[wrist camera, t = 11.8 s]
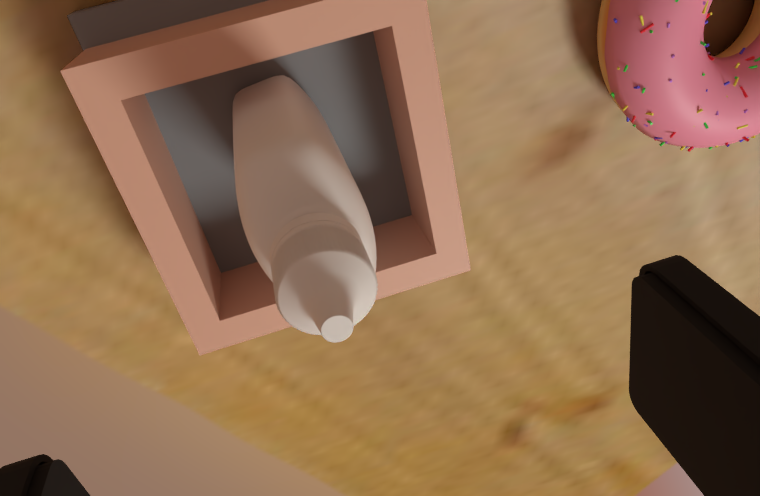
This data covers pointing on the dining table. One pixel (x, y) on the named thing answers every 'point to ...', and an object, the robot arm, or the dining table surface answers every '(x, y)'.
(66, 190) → the dining table surface
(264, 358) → the dining table surface
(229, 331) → the socket stand
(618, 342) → the dining table surface
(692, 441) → the robot arm
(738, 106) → the doughnut
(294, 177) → the squeeze bottle
